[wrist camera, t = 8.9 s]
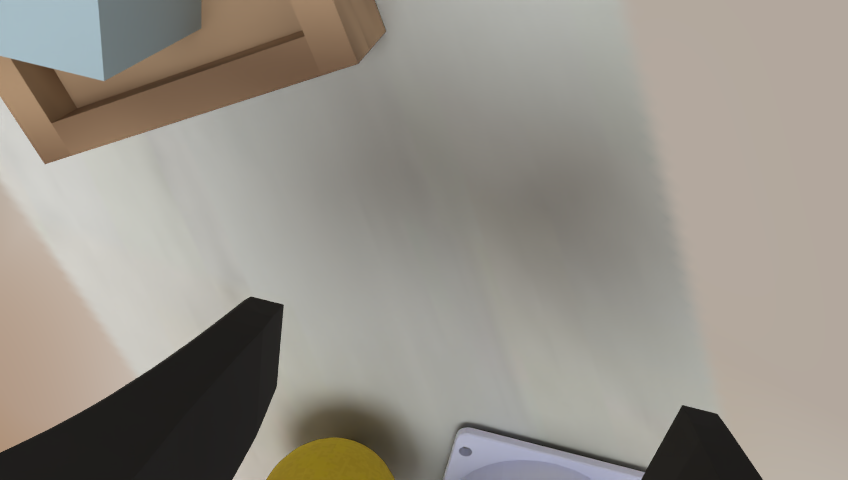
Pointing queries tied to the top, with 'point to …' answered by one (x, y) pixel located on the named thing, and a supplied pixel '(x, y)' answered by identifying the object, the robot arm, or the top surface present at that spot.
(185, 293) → the top surface
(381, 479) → the lemon
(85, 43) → the block
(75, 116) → the walnut base
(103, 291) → the top surface
